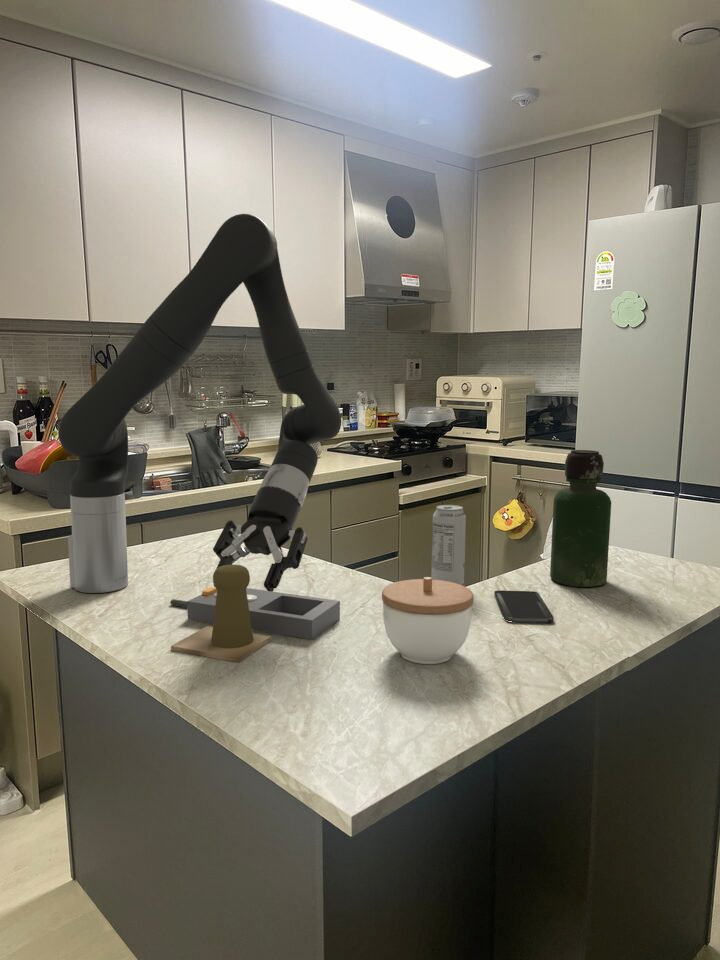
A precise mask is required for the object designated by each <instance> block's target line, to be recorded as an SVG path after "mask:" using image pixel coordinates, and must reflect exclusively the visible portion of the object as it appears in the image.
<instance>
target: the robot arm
mask: <svg viewBox="0 0 720 960" xmlns="http://www.w3.org/2000/svg"><path fill="white" fill-rule="evenodd" d="M197 260H198V261H197V262H196V263H195V264H194V266H193V267H192V269H191V270H190V271H189V272H188V273H187V274H186V276H185V277H184V278H183V279H182V280H181V281H180V282H179V283H178V284H177V285H176V287H174V288H173V290H172V291H171V292H170V293H169V294H167V296H166V297H165V298H164V299H163V301H162V302H161V303H160V304H159V306H158V307H157V308H156V309H155V310H154V311H153V312H152V313H151V314H150V316H149V317H148V318H147V319H146V321H145V322H144V323H143V324H142V325H141V326H140V327H139V329H138V330H137V332H136V333H135V334H134V335H133V337H132V338H131V339H130V341H129V342H128V343H127V344H126V345H125V346H124V348H123V349H122V350H121V352H120V353H119V354H118V355H117V357H116V358H115V359H114V361H113V362H112V363H111V364H110V366H109V367H108V369H107V370H106V372H104V374H102V376H101V377H100V378H99V379H98V381H96V383H95V384H94V385H92V387H91V388H89V390H88V391H86V392H85V393H84V394H83V395H82V396H81V397H80V398H79V399H77V401H76V402H75V403H74V404H73V405H71V407H70V408H68V410H67V411H66V412H65V413H64V415H63V416H62V417H61V419H60V422H59V425H58V440H59V444H60V445H61V447H62V449H64V451H65V452H67V453H68V454H70V455H72V456H75V457H77V458H78V465H77V467H76V468H77V469H76V470H75V472H74V474H73V475H72V477H71V479H69V480H70V481H69V497H70V498H69V500H70V501H69V502H70V517H71V519H70V521H71V534H70V535H68V537H67V542H68V543H67V545H68V549H67V550H68V565H69V583H70V584H69V585H70V586H69V587H70V588H73V589H75V591H77V592H81V593H85V594H102V593H110V592H114V591H118V590H122V589H124V588H126V587H127V586H128V585H129V571H128V567H129V566H128V545H127V543H128V541H127V540H128V539H127V519H126V495H125V491H126V490H125V484H126V479H127V477H128V473H129V472H128V471H129V435H128V433H129V432H128V426H127V423H126V422H127V421H126V420H125V418H126V416H127V415H128V414H129V413H130V411H131V410H133V409H134V407H135V406H136V405H137V404H138V403H140V402H141V401H142V400H143V399H144V398H146V397H147V396H148V395H150V394H151V393H152V392H154V391H155V390H156V389H159V388H160V386H162V385H163V384H165V382H167V381H168V380H169V379H170V378H172V377H173V376H174V375H175V374H176V373H177V372H178V371H179V370H180V369H182V367H183V366H184V365H185V363H187V361H188V360H189V359H190V357H192V355H193V354H194V353H195V352H196V351H197V350H198V348H199V347H200V345H201V344H202V342H203V341H204V339H205V338H206V336H207V334H208V332H209V330H210V328H211V327H212V325H213V323H214V321H215V319H216V318H217V315H218V313H219V311H220V310H221V308H222V306H223V305H224V303H225V302H226V301H227V300H228V298H229V297H230V296H231V295H232V294H233V293H234V292H235V291H236V290H237V289H238V288H239V287H240V286H241V285H242V283H243V285H244V287H245V289H246V290H247V292H248V295H249V297H250V299H251V302H252V306H253V307H254V311H255V312H254V313H255V315H256V318H257V322H258V326H259V332H260V335H261V340H262V345H263V348H264V351H265V352H264V353H265V355H266V359H267V361H268V364H269V366H270V370H271V373H272V376H273V377H274V381H275V383H276V386H277V388H278V390H279V391H280V393H282V394H284V395H295V396H297V398H299V399H300V401H301V402H302V403H303V404H301V405H298V406H294V407H293V408H291V409H290V410H289V411H287V413H286V414H285V415H284V417H283V418H282V421H281V425H280V428H279V429H280V430H279V438H278V445H277V447H278V449H277V452H276V453H275V456H274V459H273V461H272V463H271V465H270V467H269V469H268V470H267V473H266V474H265V475H264V478H263V479H262V481H261V484H260V486H259V489H258V490H257V492H256V494H255V497H254V499H253V502H252V504H251V506H250V508H249V511H248V515H247V519H246V521H245V522H244V523H243V524H242V525H241V524H236V523H235V522H234V521H233V520H230V519H229V520H228V521H227V522H226V523H225V524H224V527H223V529H222V531H221V533H220V534H219V537H218V539H217V540H216V542H215V544H214V546H213V548H212V550H213V552H214V553H215V555H216V556H217V557H218V558H219V561H218V564H217V566H216V568H215V570H216V569H217V568H218V567H220V566H224V565H234V563H236V562H237V561H238V560H239V559H240V558H246V556H248V555H250V554H255V555H258V554H262V555H264V556H270V555H271V554H272V557H273V561H274V562H273V563H271V565H270V567H269V569H268V572H267V574H266V577H265V579H264V581H263V587H264V588H265V589H266V591H272V592H274V591H275V589H277V588H278V586H279V585H280V582H281V581H282V577H283V574H284V573H285V571H287V570H288V569H293V570H296V569H298V568H300V565H301V564H300V563H301V562H302V558H303V555H304V551H305V549H306V545H307V542H308V536H307V534H306V532H305V530H304V529H303V528H302V527H297V528H296V529H294V527H295V524H296V521H297V520H298V517H299V515H300V512H301V510H302V507H303V504H304V503H305V500H306V496H307V494H308V489H309V485H310V484H311V480H312V478H313V476H314V473H315V469H316V468H317V464H318V461H319V460H318V453H317V451H316V450H315V449H314V447H312V446H311V444H316V443H321V442H325V441H328V440H332V439H334V438H335V437H337V435H338V434H339V433H340V431H341V427H342V414H341V411H340V409H339V406H338V405H337V403H336V402H335V399H334V398H333V397H332V395H331V394H330V392H329V391H328V389H327V388H326V386H325V385H324V383H323V382H322V381H321V379H320V378H319V376H318V374H317V373H316V370H315V368H314V365H313V361H312V359H311V356H310V353H309V351H308V347H307V345H306V342H305V339H304V337H303V335H302V332H301V329H300V327H299V324H298V322H297V318H296V317H295V313H294V311H293V309H292V306H291V303H290V300H289V296H288V293H287V288H286V285H285V281H284V277H283V273H282V272H283V271H282V268H281V261H280V256H279V250H278V242H277V238H276V236H275V233H274V231H273V230H272V229H271V228H270V226H269V225H268V224H266V223H265V222H264V221H263V220H262V219H261V218H259V217H258V216H257V215H255V214H254V215H253V214H250V213H239V214H235V215H233V216H230V217H229V218H227V220H225V221H224V222H223V223H222V224H221V226H220V227H219V228H218V230H217V231H216V233H215V234H214V236H213V237H212V239H211V240H210V242H209V243H208V245H207V247H206V248H205V250H204V251H203V253H202V254H201V255H200V257H199V259H197ZM293 529H294V530H293ZM289 541H290V545H289V548H288V550H287V555H286V556H285V554H284V552H283V551H284V550H283V548H282V547H283V546H284V545H285V544H286V543H288V542H289ZM242 544H244V546H245V547H241V546H242Z"/></svg>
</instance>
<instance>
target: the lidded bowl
mask: <svg viewBox="0 0 720 960" xmlns="http://www.w3.org/2000/svg"><path fill="white" fill-rule="evenodd" d="M381 600H382V617H383V625H384V629H385V633H386V636H387V638H388V639H389V642H390V643H391V644H392V646H393V647H394V648H395V649H396V650H397V651H398V652H399V653H400V656H401V657H402V658H403V659H404V660H406V661H408V662H411V663H415V664H420V665H438V664H439V665H440V664H443V663H447V662H449V661H450V660H451V659H452V657H453V655H455V654H456V653H457V652H458V651H459V650H460V649H461V648H462V646H463V645H464V643H465V642H466V640H467V638H468V635H469V633H470V629H471V623H472V620H473V619H472V618H473V605H474V593H473V591H472V590H471V589H470V588H469V587H466V586H465V585H463V584H462V585H460V584H456V583H453V582H448V581H442V580H432V578H431V576H424V577H423V578H417V579H416V578H414V579H413V578H412V579H405V580H399V581H396V582H392V583H390V584H388V585H386V586H384V587H383V589H382V591H381Z"/></svg>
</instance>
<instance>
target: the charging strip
mask: <svg viewBox="0 0 720 960" xmlns="http://www.w3.org/2000/svg"><path fill="white" fill-rule="evenodd" d="M201 592H202V593H201V594H199V595H197V596H195V597H193V598H190V599H189V600H183V599H182V600H181V599H174V598H173V599H171V600H170V602H169V604H171V605H172V606H175V607H181V608H186V610H187V620H188V621H196V622H201V623H207V624H212V625H213V621H214V613H215V604H216V595H217V589H216V588H215V587H208V588H206V589H204V590H203V591H201ZM246 592H247V599H248V606H249V612H250V619H251V626H252V631H256V632H263V633H268V634H274V635H279V636H286V637H292V638H293V637H294V638H298V639H299V638H300V639H306V640H309V641H310V640H311V641H313V640H314V639H316V637H319V635H321V634H323V632H324V631H326V630H327V629H329V628H330V627H332V626H333V625H334V624H336V623H337V621H339V620H341V601H340V600H336V599H335V600H334V599H328V598H323V597H322V598H321V597H314V596H308V595H299V594H294V593H286V592H277V591H273V592H272V591H267V590H264V589H258V588H257V589H256V588H250V587H249V588H248V587H247V588H246Z"/></svg>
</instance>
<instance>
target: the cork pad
mask: <svg viewBox="0 0 720 960" xmlns="http://www.w3.org/2000/svg"><path fill="white" fill-rule="evenodd" d="M212 630H213V625H212V626H211V625H206V626H205V627H202V628H201V629H198V631H195V632H194V633H192V634H190V635H188V636H186V637H184V638H183V639H181V640H179V641H178V642H176V643H174V644H172V645H171V646H170V650H171V651H175V652H180V653H186V654H191V655H195V656H201V657H207V658H213V659H218V660H224V661H229V662H234V663H239V662H241V661H242V660H244V659H245V658H247V657H248V656H250V655H251V654H252V653H254V652H255V651H257V650H258V649H260V648H262V647H263V646H264V645H266V644H268V643H269V642H270V641H272V636H271V635H266V634H261V633H254V632H252V633H253V639H254V640H253V642H252V643H250V644H249V645H246V646H244V647H239V648H220V647H217V646H214V645H213V644H212V643H211V639H212Z"/></svg>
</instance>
